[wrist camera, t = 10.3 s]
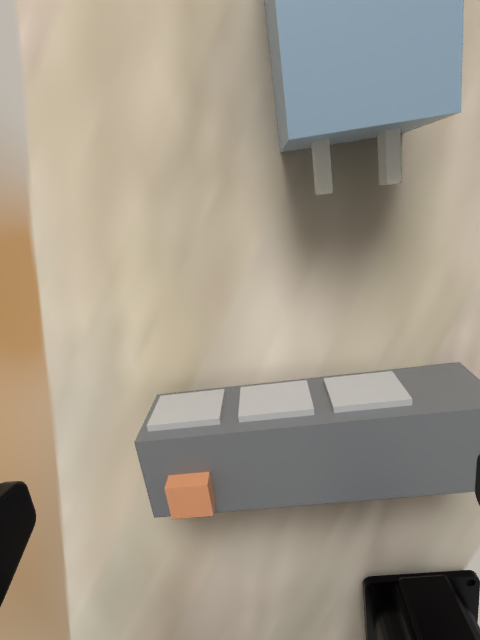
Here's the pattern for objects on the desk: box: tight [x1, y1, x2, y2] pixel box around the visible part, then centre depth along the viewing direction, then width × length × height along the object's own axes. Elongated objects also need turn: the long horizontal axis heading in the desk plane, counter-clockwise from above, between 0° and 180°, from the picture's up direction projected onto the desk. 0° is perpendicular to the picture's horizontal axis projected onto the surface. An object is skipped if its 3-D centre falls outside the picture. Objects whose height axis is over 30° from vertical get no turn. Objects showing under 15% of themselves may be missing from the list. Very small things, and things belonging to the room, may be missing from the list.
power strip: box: [134, 362, 480, 519], centre depth 18 cm, size 4×15×5 cm, turn 98°
